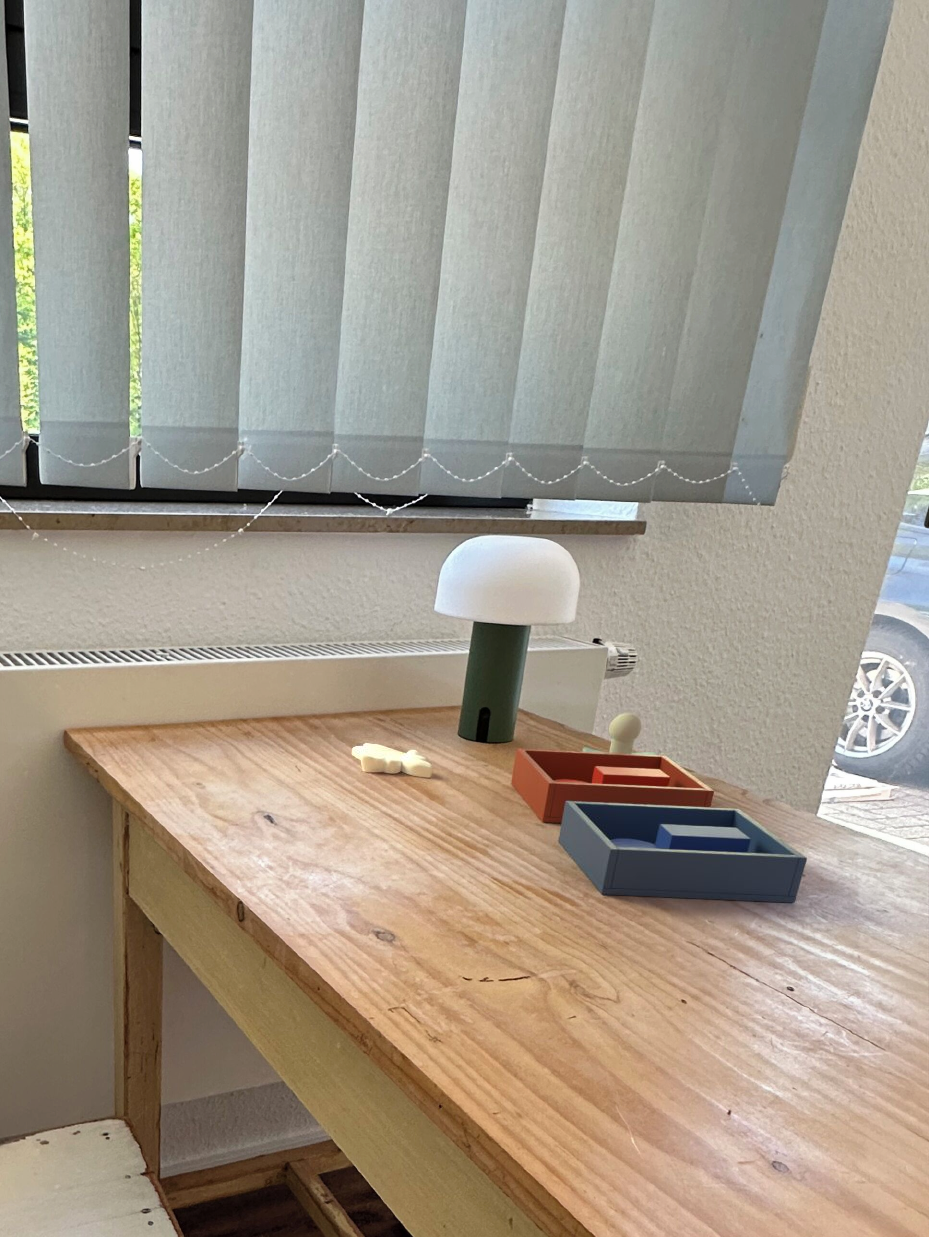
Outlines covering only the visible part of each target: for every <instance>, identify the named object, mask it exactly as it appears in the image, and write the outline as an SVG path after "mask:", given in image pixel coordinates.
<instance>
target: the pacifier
mask: <svg viewBox="0 0 929 1237" xmlns="http://www.w3.org/2000/svg"><path fill="white" fill-rule="evenodd" d="M641 731H642V720H641V719H640V717H639V716H638V715H637V714H635V713H633V712H623V713H621V714H619V715H617V716H615V717H614V719H613V720H612V721H611V723H610V724H609V727H608V733H609V736H610V739H611V742H610V746H609V752H607V751H603V750H596V749H594V748H590V747H587V746H583V747H582V752H601V753H622V754H643V755H659V756H660V754H659V753H658V752H653V751H644V752H642V751H641V752H633V748H634V747H633V746H634V743H635V740H636V739H637V738H638V737H639V735H640V733H641Z"/></svg>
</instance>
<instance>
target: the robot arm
mask: <svg viewBox="0 0 929 1237" xmlns="http://www.w3.org/2000/svg"><path fill="white" fill-rule="evenodd" d="M923 527H924V528H925V529H929V506H928V507H927V511H926V514H925V518H924V522H923Z"/></svg>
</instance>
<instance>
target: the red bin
mask: <svg viewBox="0 0 929 1237" xmlns="http://www.w3.org/2000/svg"><path fill="white" fill-rule="evenodd" d="M595 766H599V767H621V768H642V769H660V770H661V771H662V772H664V773H665V774H666V775H668V776H669V777H670V781H669V786H668V787H658V786H636V785H615V784H594V783H592V778H593V773H594V768H595ZM561 779H567V780H577V781H582V782H586V783H572V782H554V781H553V780H561ZM510 785H511V786H512V787H513V788H514V790H515V791H516V792H517V793H518V795H519V796H520V797H521V799H523V800H524V802H525V803H526V804H527V805H528V807H529V809H531V810H532V811H533V813H534V814H535V815H536V816H537V817H538V819H539V820H540V822H542V823H549V824H550V823H551V824H552V823H553V824H561V823H562V818H563V812H564V807H565V802H566V801H579V802H600V803H622V804H644V805H665V806H687V807H708V808H712V802H713V797H714V795H715V790H713V788H711V787H710V786H708V785H707V784H705V783H704V782H703V781H701V780H700V779H698V778H697V777H696V776H694V775H693V774H691V773H690V772H689V771H688V770H686V769H684V768H683V767H681V766H680V765H679V764H677V763H676V762H675V761H674V760H672V759H671V758H669V757H668V756H667V755H664V754H663V755H661V754H659V755H643V754H622V753H609V752H608V753H601V752H584V751H581V750H580V751H576V750H574V751H573V750H556V749H536V748H516V751H515V756H514V763H513V770H512V775H511V781H510Z"/></svg>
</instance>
